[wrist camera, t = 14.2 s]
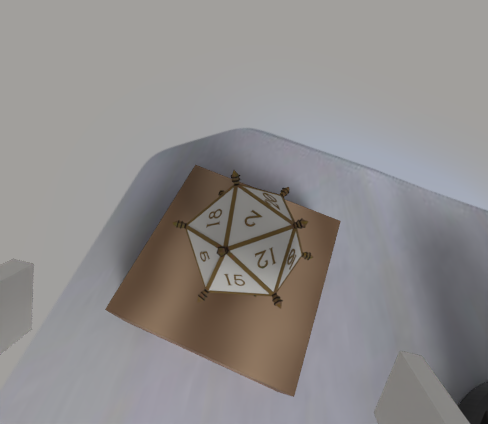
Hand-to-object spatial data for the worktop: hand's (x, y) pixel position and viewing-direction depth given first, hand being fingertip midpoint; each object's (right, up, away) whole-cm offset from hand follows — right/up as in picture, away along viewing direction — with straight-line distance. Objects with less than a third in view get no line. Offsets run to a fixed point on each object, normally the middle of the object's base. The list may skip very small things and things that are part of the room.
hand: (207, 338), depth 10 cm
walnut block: (0, -2, +18) cm, 18 cm away
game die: (+1, +1, +13) cm, 13 cm away
